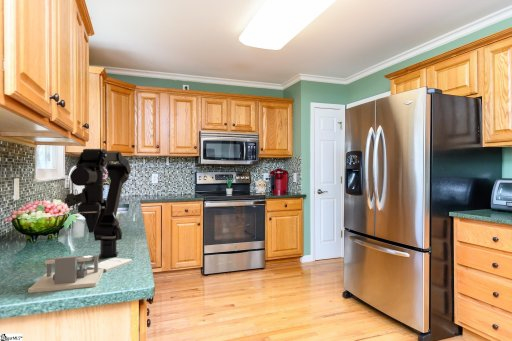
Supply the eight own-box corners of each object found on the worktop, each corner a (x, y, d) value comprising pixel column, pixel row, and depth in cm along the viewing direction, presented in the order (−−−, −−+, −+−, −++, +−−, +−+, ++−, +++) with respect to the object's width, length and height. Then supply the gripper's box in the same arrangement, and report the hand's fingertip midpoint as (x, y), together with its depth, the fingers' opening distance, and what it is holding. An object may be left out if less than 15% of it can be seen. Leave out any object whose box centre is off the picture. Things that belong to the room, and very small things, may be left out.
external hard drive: (86, 271, 103) (113, 261, 115) (106, 274, 101) (132, 263, 113) (85, 266, 103) (113, 257, 115) (106, 269, 101) (132, 258, 113)
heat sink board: (46, 276, 96) (46, 250, 96) (103, 271, 101) (103, 246, 101) (28, 293, 83) (28, 262, 83) (95, 286, 88) (95, 257, 88)
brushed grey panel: (53, 258, 95) (44, 260, 88) (93, 255, 98) (88, 257, 91) (53, 262, 95) (44, 264, 87) (93, 259, 98) (88, 261, 91)
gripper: (74, 184, 115) (74, 227, 115) (59, 186, 97) (58, 236, 97) (107, 184, 118) (107, 225, 118) (98, 185, 101) (98, 234, 100)
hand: (93, 230), depth 108 cm, fingers open, 9 cm apart
